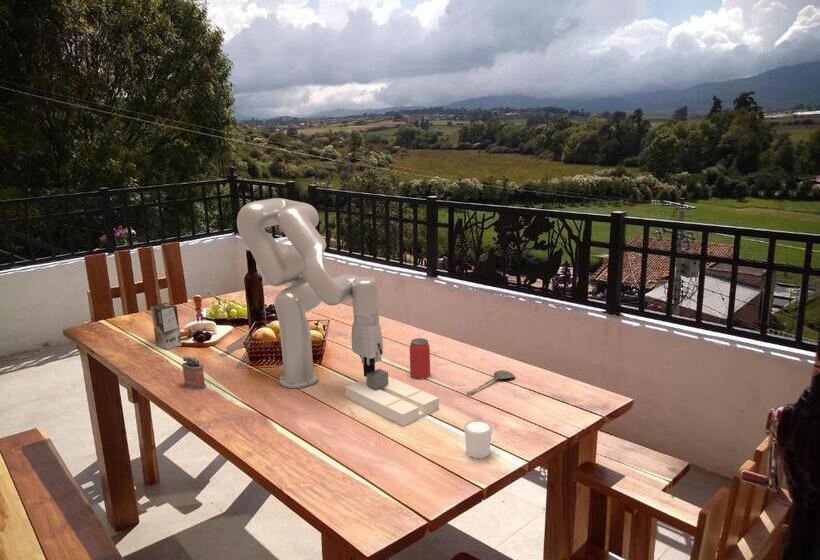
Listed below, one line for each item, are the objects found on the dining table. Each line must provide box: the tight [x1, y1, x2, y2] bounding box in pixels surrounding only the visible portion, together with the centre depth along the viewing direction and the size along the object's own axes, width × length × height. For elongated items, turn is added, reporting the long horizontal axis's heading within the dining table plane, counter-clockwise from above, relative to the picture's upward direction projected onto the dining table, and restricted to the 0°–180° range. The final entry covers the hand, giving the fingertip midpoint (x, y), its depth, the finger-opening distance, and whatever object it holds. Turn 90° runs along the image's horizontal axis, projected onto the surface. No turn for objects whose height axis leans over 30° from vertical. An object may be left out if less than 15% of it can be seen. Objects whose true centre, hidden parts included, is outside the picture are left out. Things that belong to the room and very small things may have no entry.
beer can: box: [409, 337, 431, 380], centre depth 185 cm, size 7×7×12 cm
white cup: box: [463, 420, 493, 459], centre depth 139 cm, size 7×7×7 cm
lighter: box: [181, 356, 207, 390], centre depth 181 cm, size 8×3×10 cm, turn 65°
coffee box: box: [150, 302, 183, 351], centre depth 219 cm, size 9×6×16 cm
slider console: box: [344, 376, 440, 427], centre depth 167 cm, size 26×14×4 cm, turn 43°
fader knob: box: [366, 368, 389, 390], centre depth 170 cm, size 4×5×6 cm
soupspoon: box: [466, 369, 516, 397], centre depth 178 cm, size 22×3×7 cm
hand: (369, 375), depth 173 cm, fingers closed
